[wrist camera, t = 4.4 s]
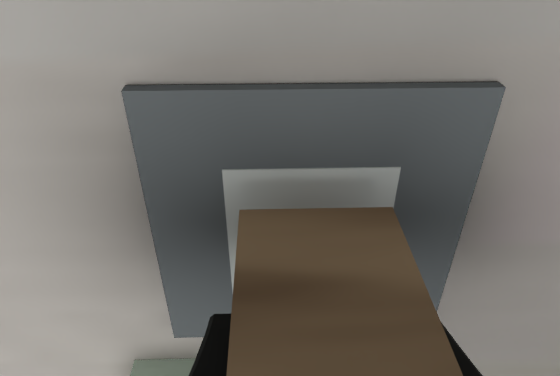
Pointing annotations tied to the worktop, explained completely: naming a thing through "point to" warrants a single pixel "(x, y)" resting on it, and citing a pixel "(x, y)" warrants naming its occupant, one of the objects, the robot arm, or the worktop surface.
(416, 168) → the pad
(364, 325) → the block walnut
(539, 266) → the worktop surface
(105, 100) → the worktop surface
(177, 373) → the block sage
